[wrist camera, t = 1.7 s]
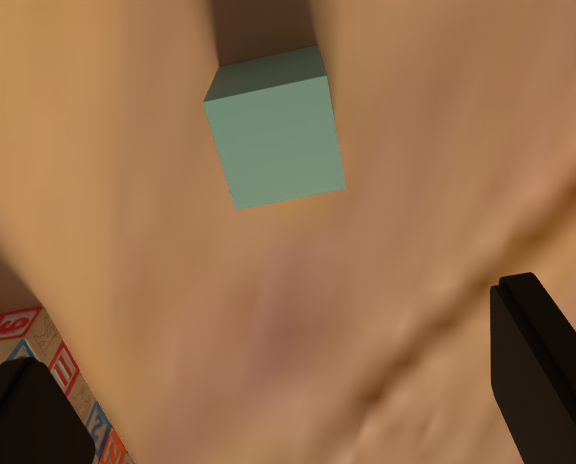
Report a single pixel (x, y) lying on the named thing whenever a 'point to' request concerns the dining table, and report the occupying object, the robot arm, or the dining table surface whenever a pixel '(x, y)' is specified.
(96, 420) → the stack of blocks
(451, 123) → the dining table surface
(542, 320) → the robot arm
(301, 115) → the teal block
